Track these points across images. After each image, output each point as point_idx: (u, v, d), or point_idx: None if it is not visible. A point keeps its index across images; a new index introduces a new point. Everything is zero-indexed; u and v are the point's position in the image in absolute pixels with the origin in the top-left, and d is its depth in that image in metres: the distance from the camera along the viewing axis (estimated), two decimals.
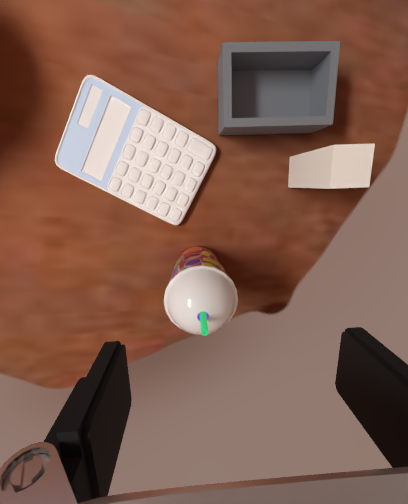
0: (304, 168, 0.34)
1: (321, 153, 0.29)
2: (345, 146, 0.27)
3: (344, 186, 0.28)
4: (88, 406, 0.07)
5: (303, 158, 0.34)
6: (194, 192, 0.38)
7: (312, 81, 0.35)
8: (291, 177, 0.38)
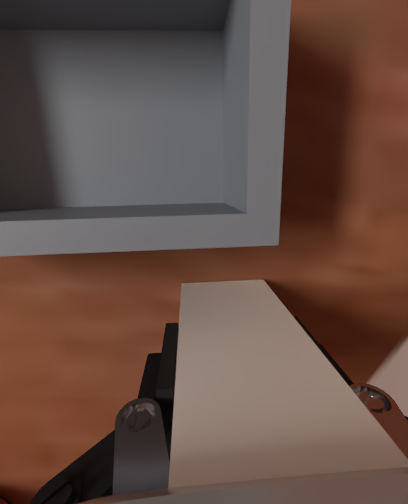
0: None
1: None
2: None
3: None
4: (174, 371, 0.08)
5: None
6: None
7: (224, 71, 0.10)
8: None
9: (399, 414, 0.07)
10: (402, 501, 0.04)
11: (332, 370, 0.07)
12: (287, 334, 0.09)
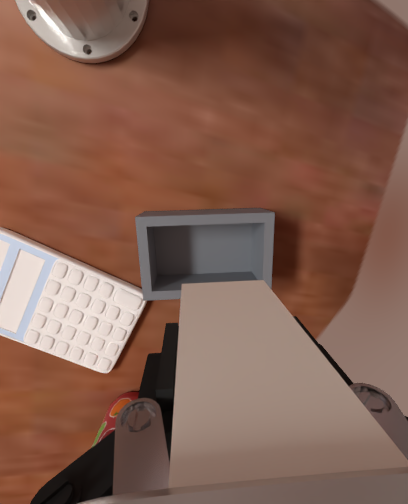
0: None
1: None
2: None
3: None
4: (173, 371, 0.08)
5: None
6: (124, 341, 0.33)
7: (253, 231, 0.30)
8: None
9: (399, 414, 0.07)
10: (402, 501, 0.04)
11: (333, 372, 0.07)
12: (287, 335, 0.09)
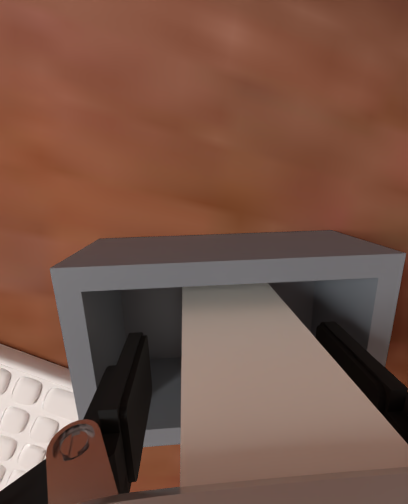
0: None
1: None
2: None
3: None
4: (123, 388, 0.07)
5: None
6: None
7: None
8: None
9: None
10: (402, 501, 0.04)
11: (313, 339, 0.09)
12: (276, 313, 0.10)
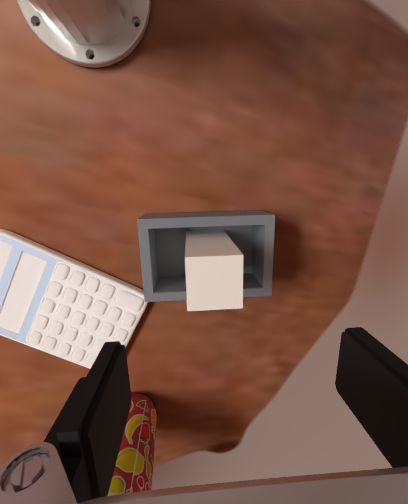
0: None
1: None
2: (201, 259, 0.19)
3: (207, 308, 0.20)
4: (88, 406, 0.07)
5: None
6: (125, 342, 0.34)
7: (254, 233, 0.31)
8: None
9: None
10: (402, 501, 0.04)
11: (232, 242, 0.24)
12: (223, 238, 0.26)
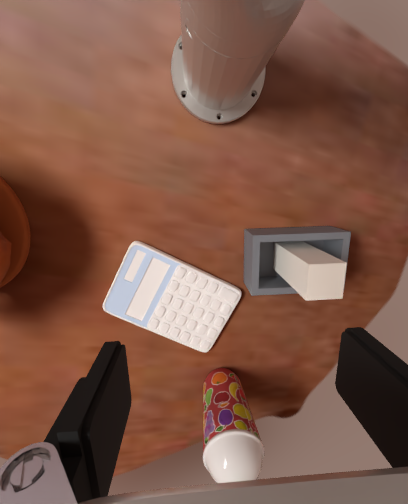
0: (286, 263, 0.36)
1: (299, 263, 0.31)
2: (319, 265, 0.29)
3: (319, 298, 0.30)
4: (88, 406, 0.07)
5: (285, 253, 0.36)
6: (222, 327, 0.43)
7: (326, 244, 0.40)
8: (276, 262, 0.40)
9: None
10: (402, 501, 0.04)
11: (324, 252, 0.34)
12: (313, 248, 0.36)
